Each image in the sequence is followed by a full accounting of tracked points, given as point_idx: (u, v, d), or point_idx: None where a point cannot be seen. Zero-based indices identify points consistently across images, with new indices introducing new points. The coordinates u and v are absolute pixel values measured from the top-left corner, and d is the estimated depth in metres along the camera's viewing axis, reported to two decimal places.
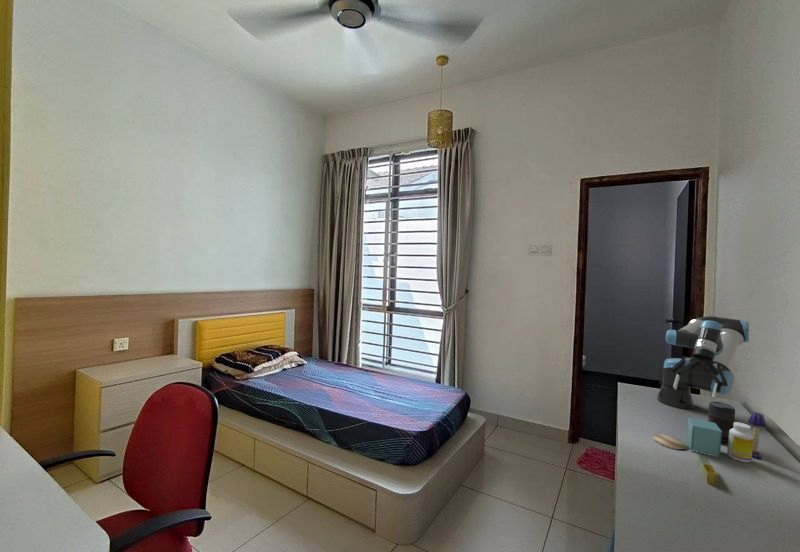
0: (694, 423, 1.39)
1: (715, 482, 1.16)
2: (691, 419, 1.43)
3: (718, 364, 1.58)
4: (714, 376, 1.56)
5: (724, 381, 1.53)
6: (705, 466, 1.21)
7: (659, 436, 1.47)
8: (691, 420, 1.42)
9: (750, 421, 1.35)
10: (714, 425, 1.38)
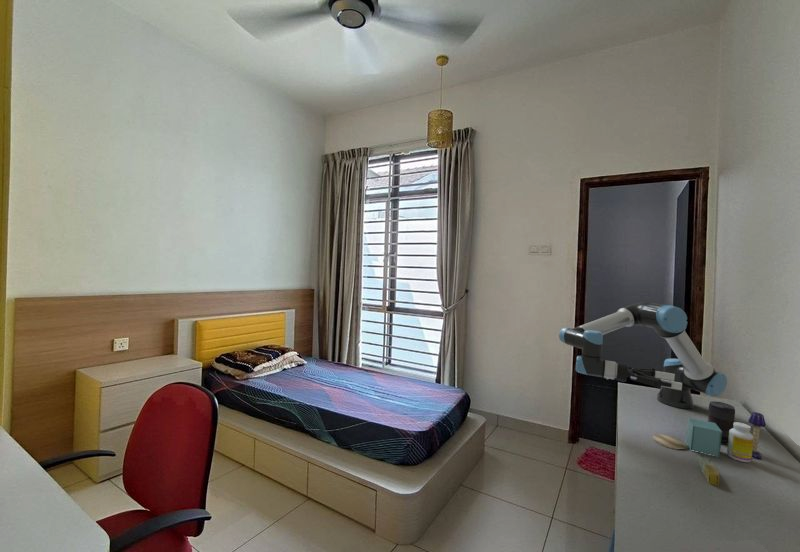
0: (694, 423, 1.39)
1: (717, 483, 1.16)
2: (691, 419, 1.43)
3: None
4: None
5: None
6: (707, 466, 1.20)
7: (659, 436, 1.47)
8: (691, 420, 1.42)
9: (750, 421, 1.35)
10: (714, 425, 1.38)
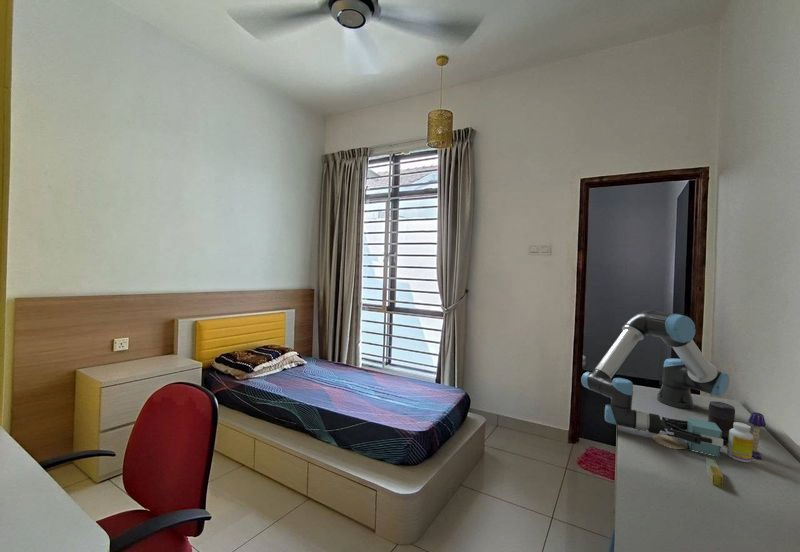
0: (694, 423, 1.39)
1: (721, 484, 1.15)
2: (691, 419, 1.43)
3: None
4: None
5: None
6: (711, 468, 1.20)
7: (659, 436, 1.47)
8: (691, 420, 1.42)
9: (750, 421, 1.35)
10: (714, 425, 1.38)
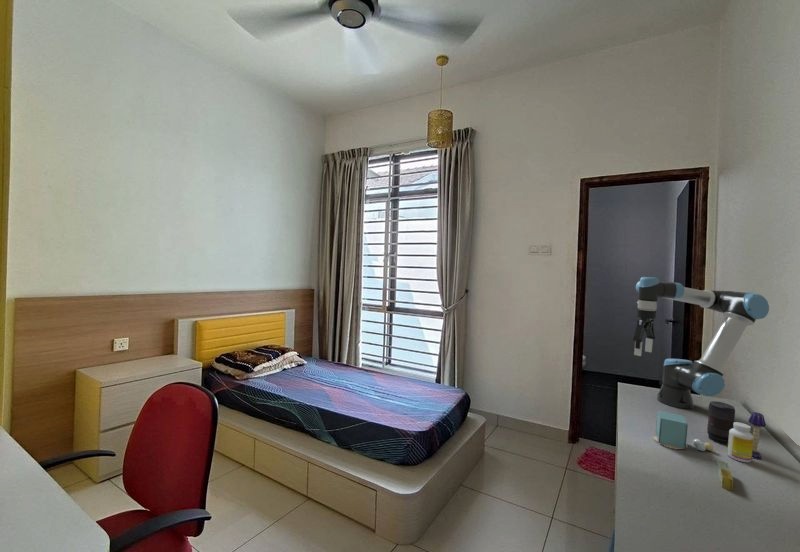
0: (662, 416, 1.43)
1: (731, 487, 1.14)
2: (660, 412, 1.47)
3: None
4: None
5: None
6: (722, 471, 1.18)
7: None
8: (660, 413, 1.46)
9: (750, 421, 1.35)
10: (681, 418, 1.42)
